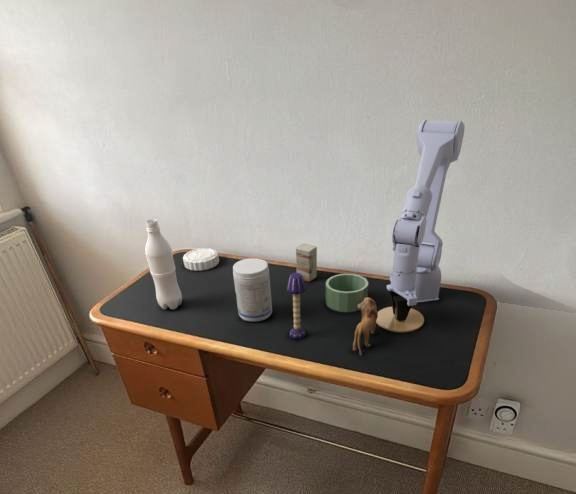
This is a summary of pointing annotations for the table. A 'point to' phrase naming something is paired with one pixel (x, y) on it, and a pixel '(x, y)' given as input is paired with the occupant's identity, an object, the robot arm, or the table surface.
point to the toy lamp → (296, 303)
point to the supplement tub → (252, 289)
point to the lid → (392, 324)
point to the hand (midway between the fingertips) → (399, 316)
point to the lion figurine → (366, 322)
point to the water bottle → (162, 267)
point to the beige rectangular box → (307, 261)
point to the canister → (346, 292)
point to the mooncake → (201, 259)
